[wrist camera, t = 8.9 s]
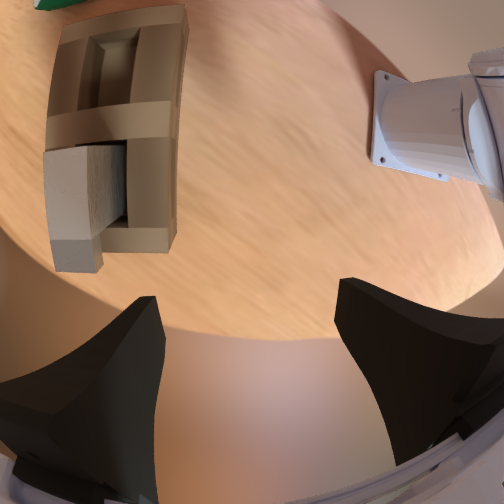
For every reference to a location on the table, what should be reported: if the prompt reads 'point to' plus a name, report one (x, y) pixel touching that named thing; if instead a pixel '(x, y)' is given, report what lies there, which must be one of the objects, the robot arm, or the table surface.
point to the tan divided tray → (126, 111)
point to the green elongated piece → (53, 4)
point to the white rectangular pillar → (83, 202)
